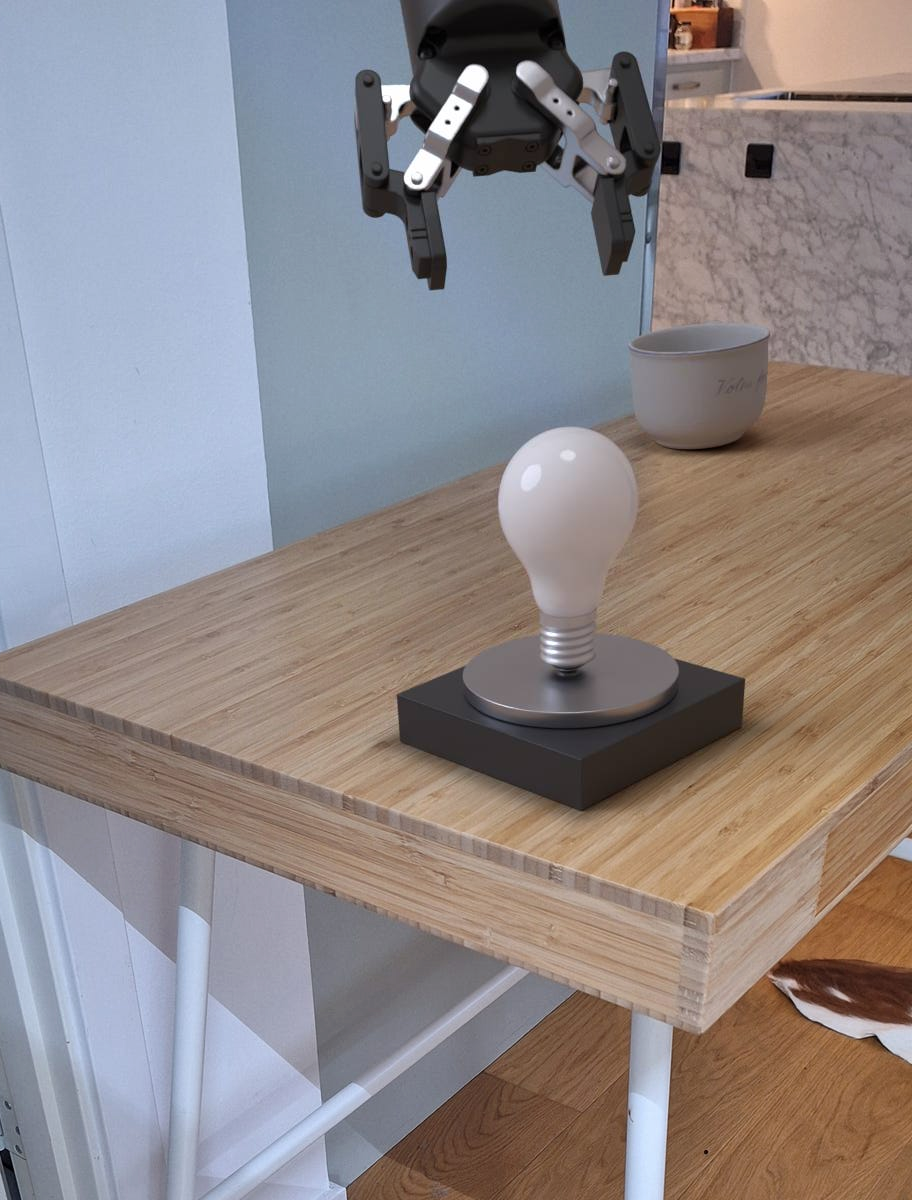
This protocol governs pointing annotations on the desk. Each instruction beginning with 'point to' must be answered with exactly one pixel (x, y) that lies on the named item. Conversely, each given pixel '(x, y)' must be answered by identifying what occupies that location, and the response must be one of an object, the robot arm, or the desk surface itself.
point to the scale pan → (571, 684)
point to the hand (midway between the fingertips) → (527, 271)
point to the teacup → (699, 382)
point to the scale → (571, 736)
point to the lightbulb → (568, 531)
